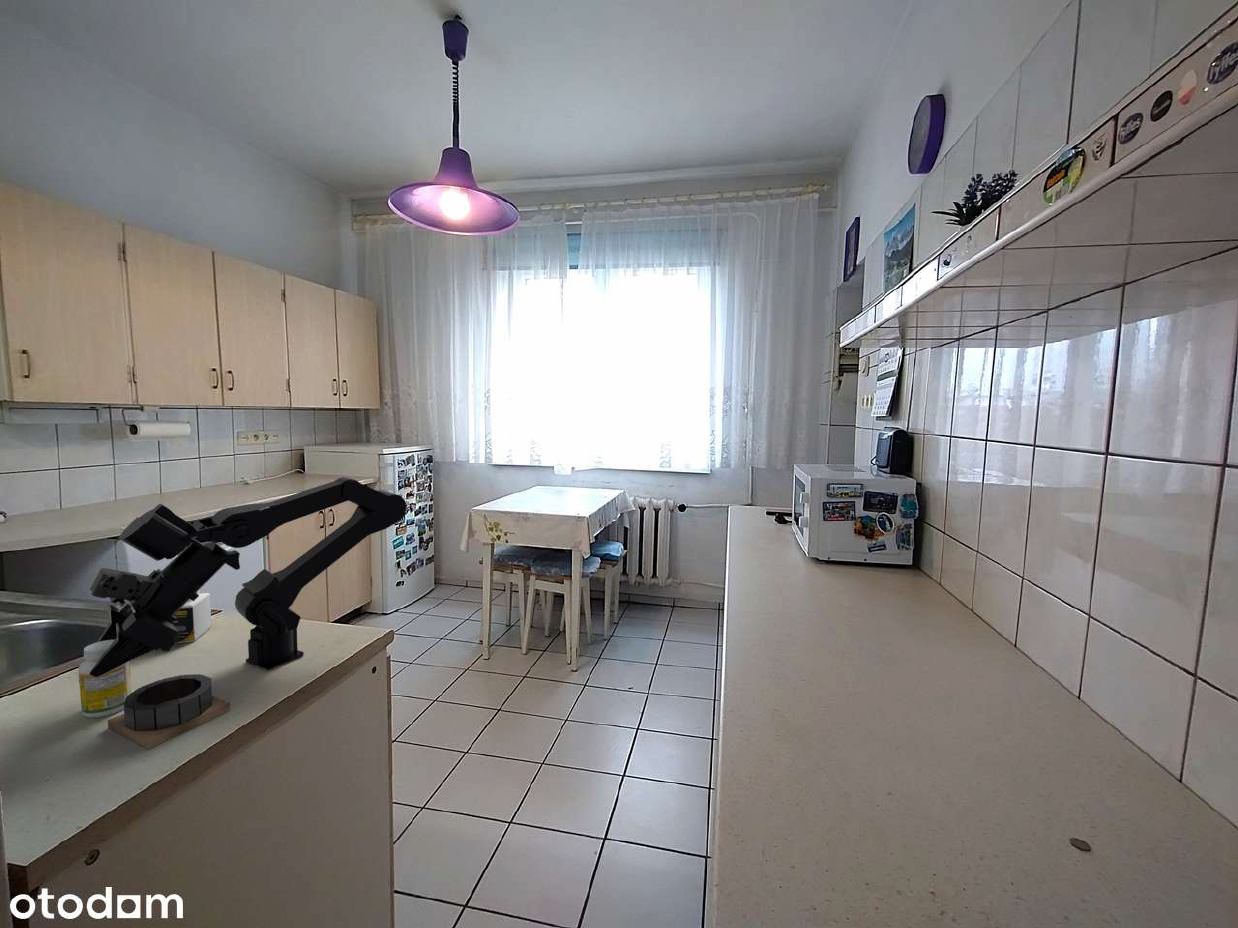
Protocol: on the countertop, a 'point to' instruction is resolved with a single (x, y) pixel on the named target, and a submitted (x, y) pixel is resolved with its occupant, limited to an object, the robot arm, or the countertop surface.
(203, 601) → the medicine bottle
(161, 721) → the socket holder
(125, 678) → the supplement bottle
